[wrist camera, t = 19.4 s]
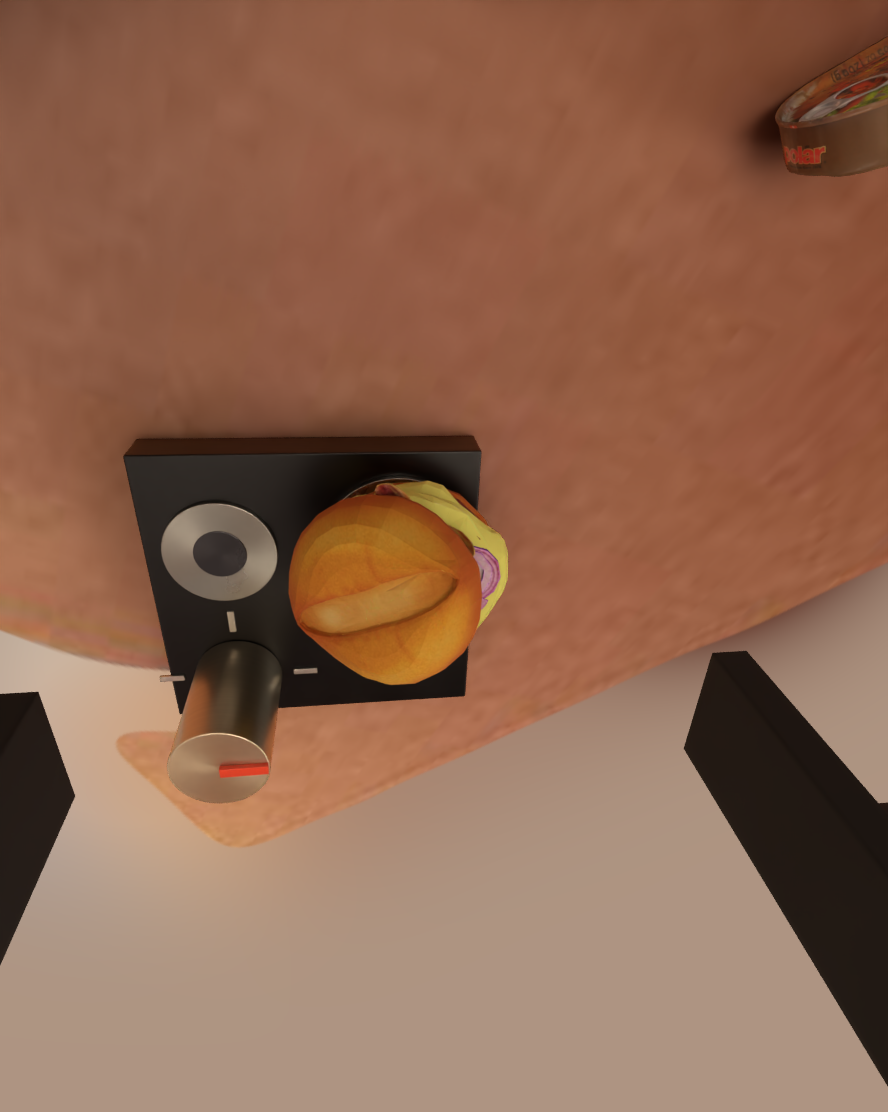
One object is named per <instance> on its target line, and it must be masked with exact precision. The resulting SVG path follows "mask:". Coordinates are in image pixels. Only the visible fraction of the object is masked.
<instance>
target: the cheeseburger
mask: <svg viewBox="0 0 888 1112" xmlns="http://www.w3.org/2000/svg"><path fill="white" fill-rule="evenodd" d="M507 575H508V551H507V548H506V545H505V541H504V539H503V538H502V537H501V535H500V533H497V532H496V531H495V530H493V529H492V528H490V527H489V526H488V524H487V522H486V520H485V519H484V518H483V516H482V515H480V514H479V513H478V512H477V511H476V510H475V509H474V508H473V507H472V506H471V505H470V504H469V503H468V502H467V501H466V500H465V499H464V498H463V497H462V496H461V495H460V494H459V493H456V492H454V491H451V490H448V489H446V488H445V487H444V486H443V485H441V484H437V483H434V482H431V481H428V480H427V481H423V482H402V483H393V484H390V483H382V484H379V485H377V486H376V488H375V491H374V492H371V493H369V494H367V495H357V496H354V497H352V498H348V499H343V500H341V501H339V502H337V503H336V504H334V505H332V506H331V507H329V508H327V509H326V510H324V511H322V512H321V513H319V514H318V515H317V516H316V517H315V518H314V519H313V520H312V522H311V523H310V524H309V525H308V526H307V527H306V528H305V529H304V531H303V532H302V533H301V535H300V537H299V539H298V541H297V543H296V546H295V548H294V551H293V556H292V560H291V564H290V571H289V598H290V602H291V607H292V611H293V614H294V617H295V619H296V622H297V624H298V626H299V627H300V628H301V629H302V630H303V631H304V632H305V633H306V634H307V635H308V636H310V637H311V638H312V639H313V640H315V641H316V642H317V643H318V644H319V645H320V646H321V647H322V648H324V649H325V650H326V651H327V652H328V653H330V654H331V655H332V656H333V657H334V658H336V659H337V660H338V661H340V662H341V663H343V664H344V665H345V666H347V667H348V668H350V669H351V670H353V671H355V672H356V673H358V674H360V675H362V676H363V677H366V678H368V679H372V680H375V681H378V682H381V683H384V684H389V685H399V684H415V683H417V682H420V681H422V680H424V679H426V678H428V677H430V676H433V675H435V674H437V673H439V672H440V671H442V670H444V669H445V668H447V667H448V666H449V665H450V664H451V663H452V662H453V661H455V660H456V659H457V658H458V657H459V656H460V655H461V654H463V653H464V651H465V650H466V648H467V646H468V645H469V643H470V642H471V640H472V638H473V637H474V634H475V632H476V629H477V628H478V627H479V625H480V624H481V623H482V622H483V621H484V620H485V618H486V617H487V616H488V614H489V613H490V611H491V610H492V608H493V607H494V605H495V604H496V602H497V601H498V599H499V597H500V596H501V594H502V593H503V591H504V588H505V585H506V582H507Z"/></svg>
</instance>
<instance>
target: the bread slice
mask: <svg viewBox="0 0 888 1112" xmlns="http://www.w3.org/2000/svg"><path fill="white" fill-rule="evenodd" d="M775 120H776V123H777V124H778V125H779V129H780V136H781V142H782V149H783V155H784V160H785V164H786V167H787V169H788V170H789V172H791V173H795V174H799V175H808V176H833V177H840V176H850V175H855V174H859V173H864V172H868V171H872V170H875V169H879V168H882V167H886V166H888V37H886V38H885V39H883V40H881V41H879V42H878V43H876V44H874V45H873V46H871V47H869V48H867V49H865V50H864V51H862V52H860V53H859V54H857V55H855V56H853V57H852V58H850V59H848V60H847V61H845V62H843V63H841V64H840V65H838V66H836V67H835V68H833V69H831V70H829V71H828V72H826V73H824V74H823V75H821V76H819V77H817V78H816V79H814V80H813V81H811V82H809V83H808V84H806V85H805V86H803V87H802V88H801V89H799V90H798V91H797V92H795V93H794V94H793V95H792V96H790V97H789V98H788V99H787V100H786V101H785V102H784V103H783V104H782V105H781V106H780V107H779V109H778V110H777V112H776V116H775Z"/></svg>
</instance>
